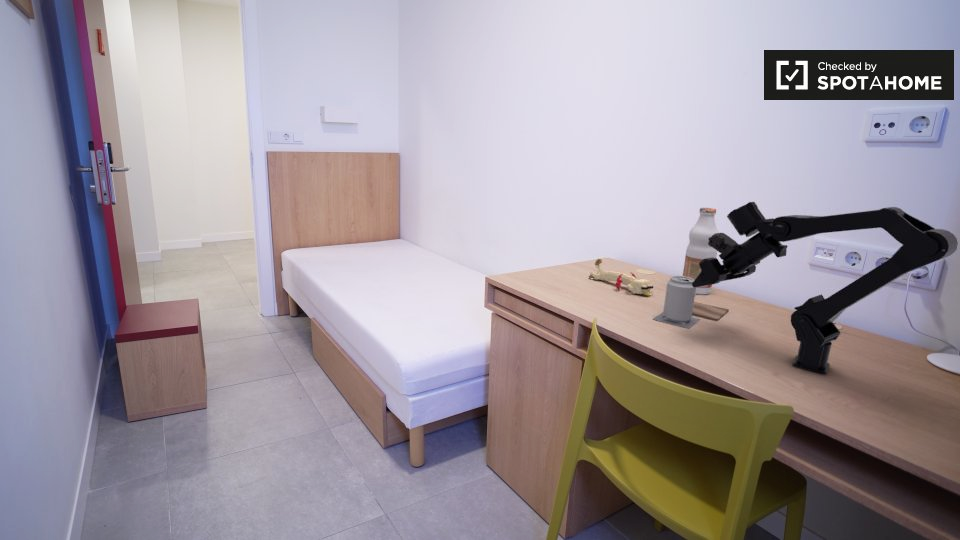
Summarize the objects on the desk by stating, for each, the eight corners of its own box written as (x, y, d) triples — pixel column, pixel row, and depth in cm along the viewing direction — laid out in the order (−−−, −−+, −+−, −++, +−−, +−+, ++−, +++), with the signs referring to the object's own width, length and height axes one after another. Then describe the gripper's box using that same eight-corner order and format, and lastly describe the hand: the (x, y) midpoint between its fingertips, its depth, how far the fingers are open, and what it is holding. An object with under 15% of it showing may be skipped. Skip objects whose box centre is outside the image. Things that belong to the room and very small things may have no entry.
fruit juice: (674, 287, 170) (686, 206, 163) (698, 286, 172) (711, 206, 165) (692, 295, 161) (705, 210, 154) (716, 294, 164) (730, 210, 157)
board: (717, 321, 138) (717, 319, 138) (674, 311, 145) (674, 309, 145) (728, 311, 147) (728, 309, 147) (687, 302, 154) (687, 300, 154)
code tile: (689, 328, 132) (689, 328, 132) (652, 319, 138) (652, 318, 138) (700, 319, 139) (700, 319, 139) (665, 311, 145) (665, 310, 145)
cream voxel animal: (584, 283, 176) (640, 297, 155) (585, 259, 174) (641, 270, 153) (604, 280, 181) (661, 293, 160) (605, 257, 179) (662, 267, 159)
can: (693, 325, 134) (700, 282, 131) (664, 322, 136) (670, 280, 132) (687, 316, 141) (694, 275, 138) (660, 313, 143) (666, 273, 140)
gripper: (752, 222, 127) (705, 254, 139) (712, 226, 117) (665, 261, 128) (778, 258, 123) (727, 288, 135) (739, 266, 113) (688, 298, 124)
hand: (702, 283), depth 131 cm, fingers open, 9 cm apart
